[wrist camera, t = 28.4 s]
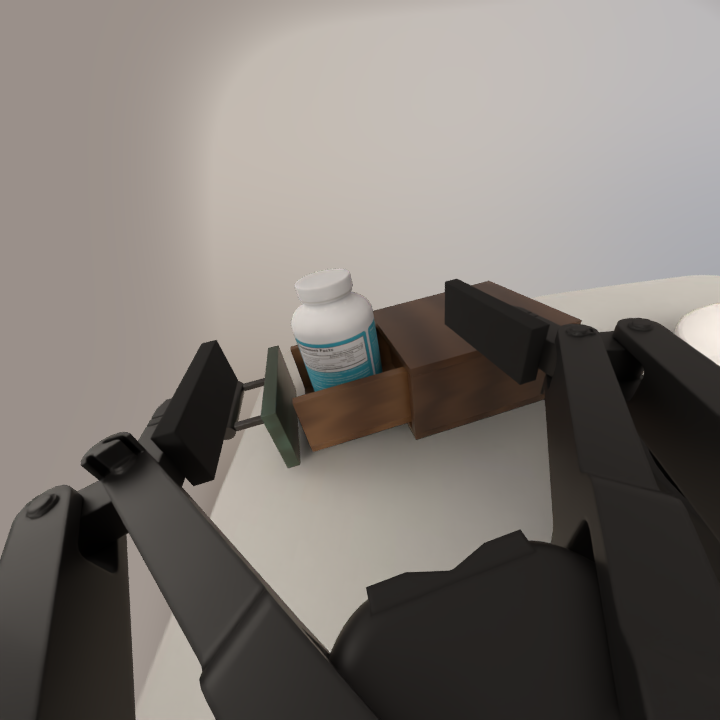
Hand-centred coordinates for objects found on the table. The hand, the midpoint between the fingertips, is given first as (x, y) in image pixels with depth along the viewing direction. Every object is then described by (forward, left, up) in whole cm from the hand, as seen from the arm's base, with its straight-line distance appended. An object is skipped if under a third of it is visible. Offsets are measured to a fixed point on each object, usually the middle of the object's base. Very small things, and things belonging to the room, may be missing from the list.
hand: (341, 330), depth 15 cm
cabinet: (+13, +9, -15) cm, 21 cm away
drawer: (-3, +9, -14) cm, 17 cm away
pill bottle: (0, +9, -13) cm, 16 cm away
